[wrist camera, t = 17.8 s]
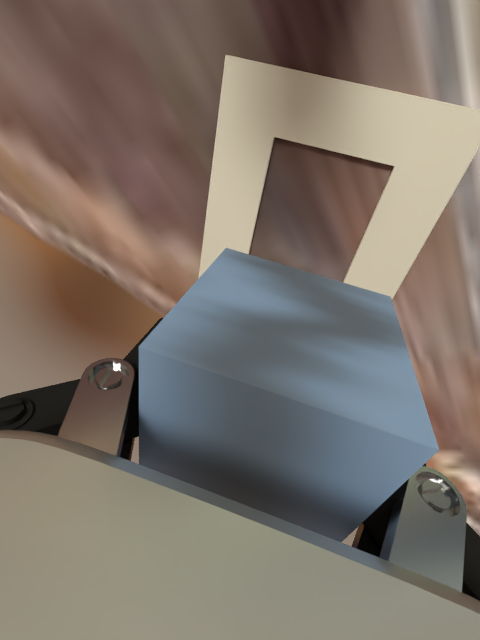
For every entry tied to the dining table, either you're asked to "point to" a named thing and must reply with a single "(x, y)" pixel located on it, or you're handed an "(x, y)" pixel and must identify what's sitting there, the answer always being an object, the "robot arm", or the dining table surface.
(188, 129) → the dining table surface
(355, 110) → the card
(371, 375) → the blue cube
